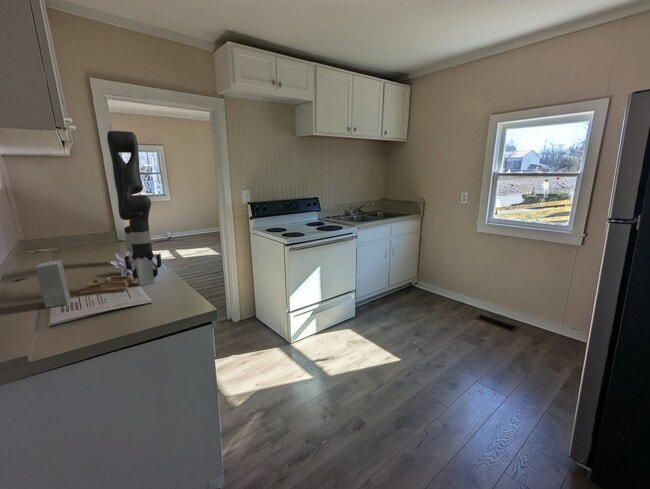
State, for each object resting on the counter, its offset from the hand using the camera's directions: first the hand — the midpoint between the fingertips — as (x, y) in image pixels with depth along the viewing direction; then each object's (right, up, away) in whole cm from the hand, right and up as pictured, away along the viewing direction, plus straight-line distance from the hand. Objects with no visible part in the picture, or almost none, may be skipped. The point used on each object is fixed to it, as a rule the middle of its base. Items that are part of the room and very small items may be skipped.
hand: (145, 277), depth 136 cm
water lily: (-17, 0, +15) cm, 22 cm away
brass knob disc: (-18, -3, -6) cm, 19 cm away
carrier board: (-13, -4, -4) cm, 14 cm away
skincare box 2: (0, -3, +1) cm, 3 cm away
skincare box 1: (-21, -8, -21) cm, 31 cm away
